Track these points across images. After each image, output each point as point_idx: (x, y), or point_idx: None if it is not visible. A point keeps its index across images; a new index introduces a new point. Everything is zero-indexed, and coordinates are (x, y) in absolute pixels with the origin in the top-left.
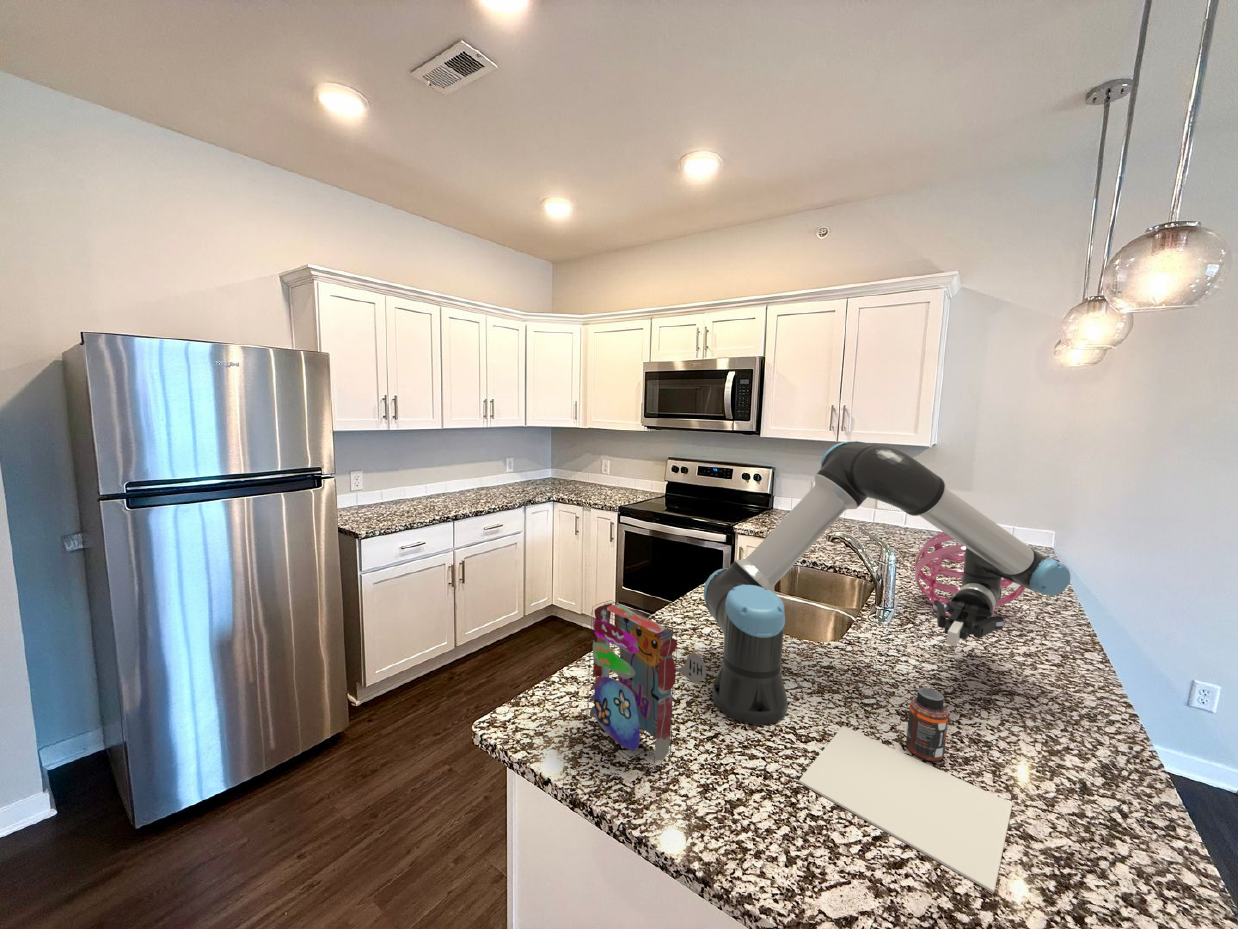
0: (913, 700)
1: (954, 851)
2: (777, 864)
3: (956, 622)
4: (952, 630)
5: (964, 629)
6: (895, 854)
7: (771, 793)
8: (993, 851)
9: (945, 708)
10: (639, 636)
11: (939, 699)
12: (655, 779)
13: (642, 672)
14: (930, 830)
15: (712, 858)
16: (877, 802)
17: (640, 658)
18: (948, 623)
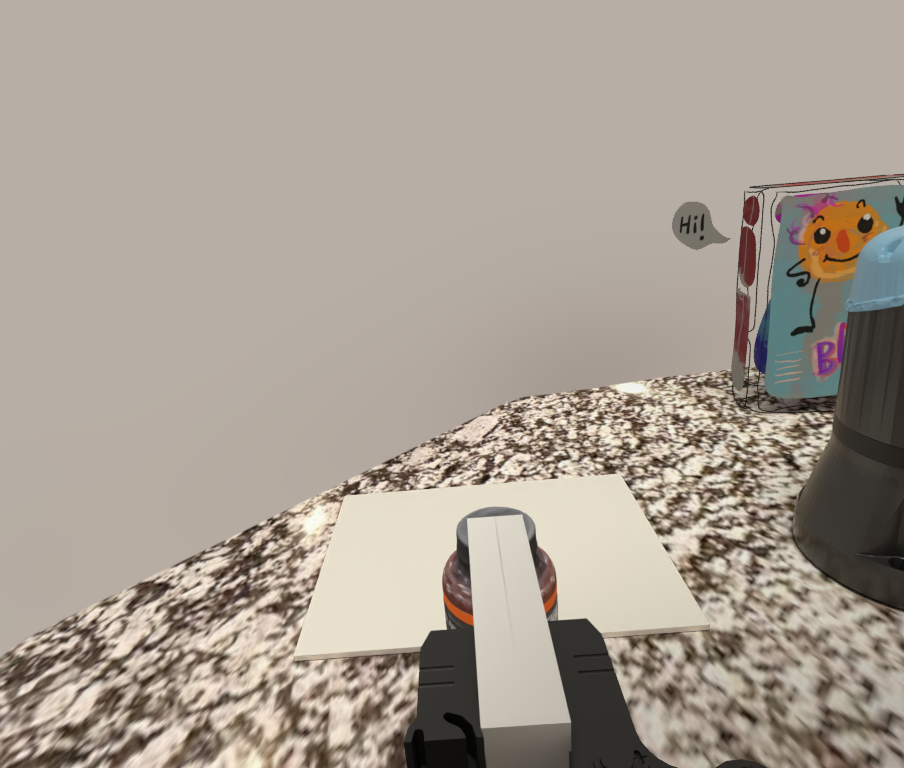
0: (543, 553)
1: (392, 508)
2: (546, 416)
3: (538, 691)
4: (503, 535)
5: (452, 688)
6: (457, 476)
7: (626, 451)
8: (341, 536)
9: (453, 577)
10: (861, 232)
11: (464, 517)
12: (724, 400)
13: (841, 298)
14: (428, 514)
15: (591, 395)
16: (510, 507)
17: (851, 274)
18: (611, 708)
